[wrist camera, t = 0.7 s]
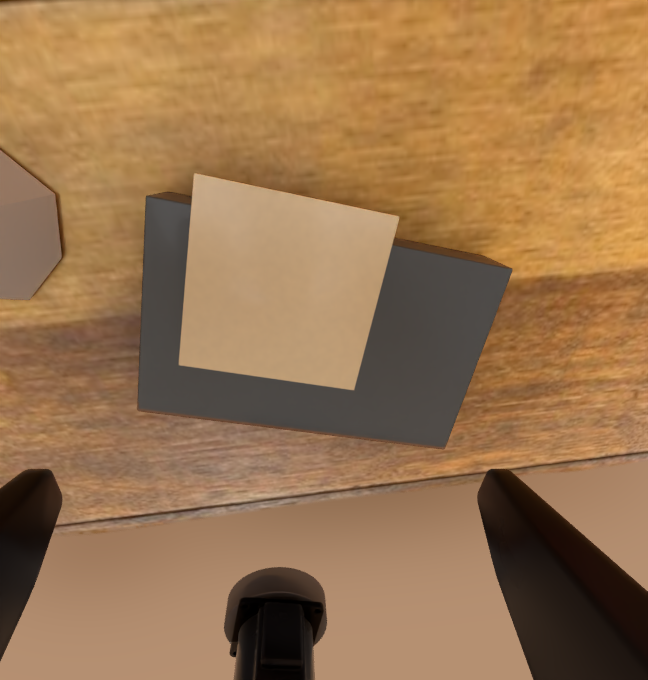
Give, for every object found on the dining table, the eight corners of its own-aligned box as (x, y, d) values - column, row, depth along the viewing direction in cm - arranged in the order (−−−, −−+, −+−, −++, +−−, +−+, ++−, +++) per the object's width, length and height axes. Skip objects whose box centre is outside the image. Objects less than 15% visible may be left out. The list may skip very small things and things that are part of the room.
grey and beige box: (427, 419, 25) (445, 451, 22) (155, 381, 23) (135, 413, 20) (492, 232, 21) (525, 243, 18) (168, 163, 18) (145, 162, 16)
